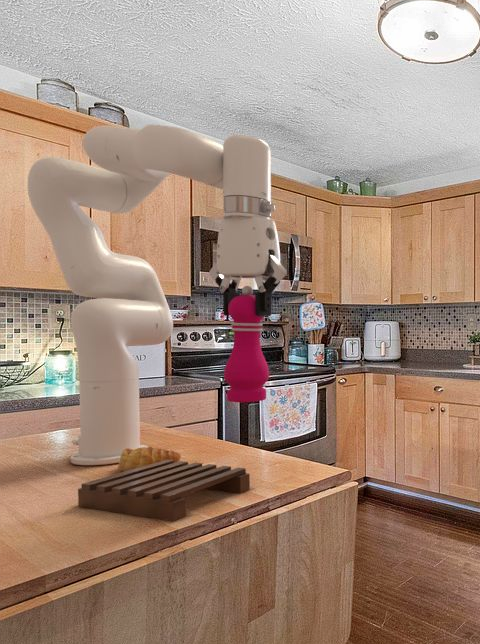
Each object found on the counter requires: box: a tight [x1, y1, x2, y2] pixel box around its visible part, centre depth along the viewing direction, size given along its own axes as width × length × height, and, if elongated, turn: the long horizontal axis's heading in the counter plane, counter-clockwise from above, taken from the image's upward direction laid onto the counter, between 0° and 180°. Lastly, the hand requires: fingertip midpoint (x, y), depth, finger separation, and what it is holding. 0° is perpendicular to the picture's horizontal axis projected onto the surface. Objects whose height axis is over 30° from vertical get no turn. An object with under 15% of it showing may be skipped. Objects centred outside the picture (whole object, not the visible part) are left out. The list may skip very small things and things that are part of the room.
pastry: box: [117, 446, 182, 472], centre depth 92 cm, size 9×7×4 cm
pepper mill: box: [223, 285, 270, 403], centre depth 87 cm, size 7×7×20 cm
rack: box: [77, 460, 251, 522], centre depth 76 cm, size 18×14×3 cm
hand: (247, 314), depth 87 cm, fingers closed on pepper mill, 6 cm apart
